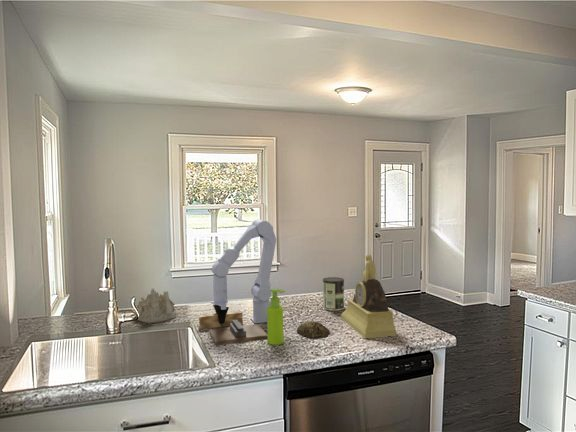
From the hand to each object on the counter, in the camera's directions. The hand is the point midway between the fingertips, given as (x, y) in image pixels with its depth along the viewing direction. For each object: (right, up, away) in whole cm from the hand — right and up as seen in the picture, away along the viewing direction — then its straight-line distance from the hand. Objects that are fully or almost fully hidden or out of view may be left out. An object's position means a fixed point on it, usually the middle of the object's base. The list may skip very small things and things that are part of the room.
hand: (221, 322), depth 183 cm
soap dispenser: (+24, -2, -21) cm, 32 cm away
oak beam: (0, -1, 0) cm, 1 cm away
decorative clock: (+61, -1, -4) cm, 61 cm away
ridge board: (+9, -2, -13) cm, 16 cm away
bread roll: (+39, -2, -11) cm, 40 cm away
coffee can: (+50, 0, +26) cm, 57 cm away
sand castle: (-32, -2, +14) cm, 35 cm away
